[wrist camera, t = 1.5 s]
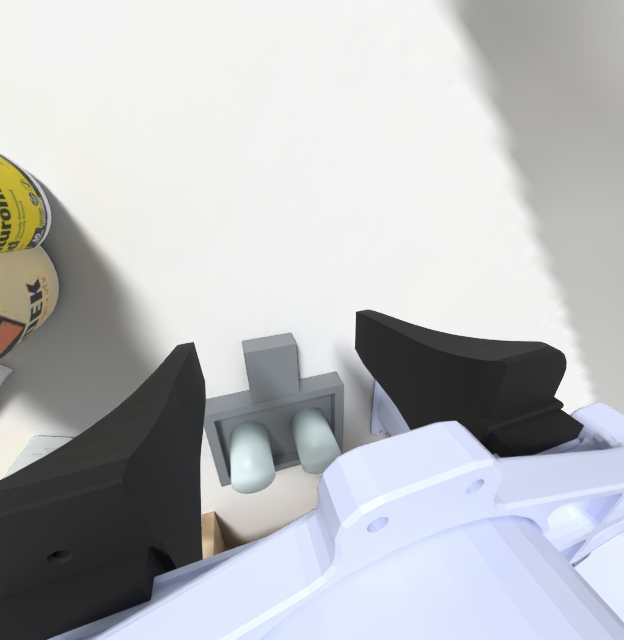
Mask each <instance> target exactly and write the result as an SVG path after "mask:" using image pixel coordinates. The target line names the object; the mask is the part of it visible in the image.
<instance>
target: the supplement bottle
mask: <svg viewBox="0 0 624 640" xmlns="http://www.w3.org/2000/svg"><path fill="white" fill-rule="evenodd" d="M50 226H51V210H50V206H49V203H48V200H47V198H46V196H45V194H44V192H43V190H42V188H41V187H40V185H39V184H38V183H37V182H36V180H35V179H34V178H33V177H32V176H31V175H30V174H29V173H28V172H27V171H26V170H25V169H24V168H22V167H21V166H20V165H18V164H17V163H16V162H14V161H13V160H11V159H9V158H8V157H6V156H4V155H2V154H0V253H4V252H9V251H17V250H23V249H31V248H35V247H38V246H39V245H40V244H41V243H42V242H43V241H44V239H45V238H46V236H47V235H48V232H49V230H50Z"/></svg>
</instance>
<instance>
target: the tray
mask: <svg viewBox="0 0 624 640" xmlns="http://www.w3.org/2000/svg"><path fill="white" fill-rule="evenodd" d="M242 345H243V352H244V358H245V364H246V370H247V376H248V381H249V387H250V390H247V391H242V392H238V393H233V394H228V395H224V396H219V397H214V398H210V399H206V405H205V416H204V428H205V431H206V435H207V438H208V442H209V445H210V448H211V452H212V455H213V459H214V462H215V466H216V469H217V472H218V476H219V479H220V483H221V486H222V487H223V486H226V485H230V484H232V487H233V489H234V490H235V491H237V492H240V493H245V494H249V493H255V492H258V491H261V490H263V489H265V488H266V487H268V486H269V485H270V484H271V483H272V482H273V480H274V478H275V471H279V470H282V469H286V468H289V467H293V466H296V465H300V464H302V468H303V469H304V471H306V472H308V473H311V474H318V473H322V472H324V470H325V469H326V468H327V467H328V466H329V465H330V464H331V463H332V462H333V461H334V460H335V459H336V458H337V457H338V456H340V455H341V453H342V432H343V392H344V384H343V382H342V381H341V379H340V377H339V376H338V374H337V372H332V373H327V374H322V375H318V376H313V377H308V378H304V379H299V377H298V363H297V348H296V342H295V340H294V338H293V336H292V333H286V334H281V335H275V336H269V337H263V338H257V339H252V340H246V341H242Z"/></svg>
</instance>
